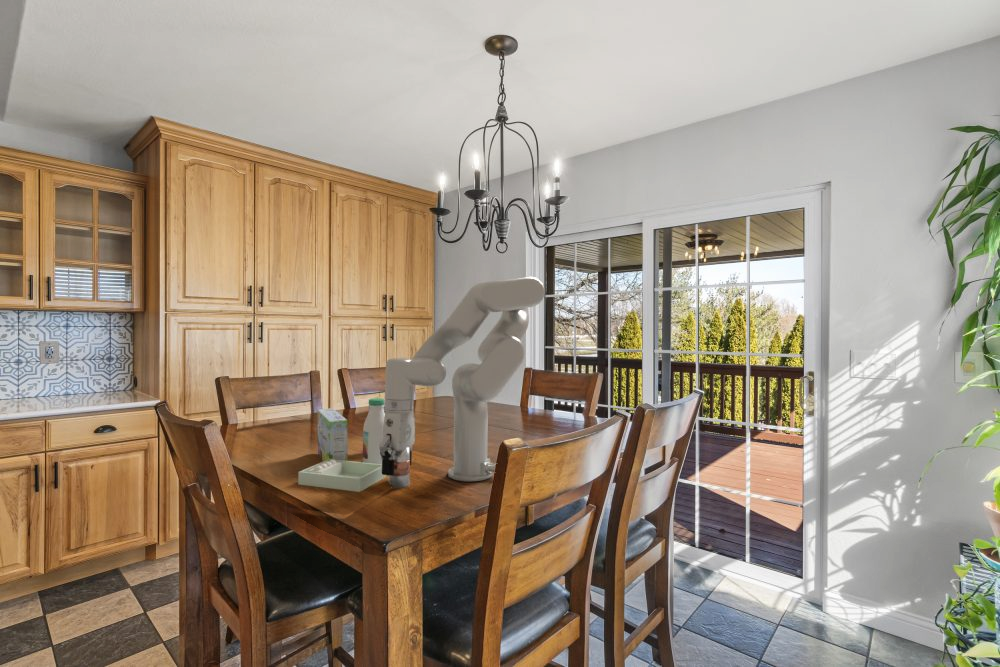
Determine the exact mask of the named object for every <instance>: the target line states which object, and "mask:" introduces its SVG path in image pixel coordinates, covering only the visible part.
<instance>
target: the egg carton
mask: <svg viewBox="0 0 1000 667" xmlns="http://www.w3.org/2000/svg"><path fill="white" fill-rule="evenodd" d="M308 472H311V473H320V474H328V475H337V476H339V475H341V474H342V463H341V462H336V461H335V460H330V461H329V462H325V463H323V464H321V465H318V466H316V467H315V468H312V469H310V470H308Z"/></svg>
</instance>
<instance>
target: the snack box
mask: <svg viewBox="0 0 1000 667" xmlns="http://www.w3.org/2000/svg"><path fill="white" fill-rule="evenodd" d="M316 413H317V417H316V418H317V422H316V423H317V455H318V456H319V458H320V459H321V460H322V462H323V461H326V460H328V459H334V460H344V461H349V456H348V452H349V450H348V419H347V418H345V417H344V416H343V415H342V414H340V413H339V412H338V411H337V410H335V409H334V408H330V407H329V408H322V409H321V408H320V409H319V408H318V409H317V411H316Z"/></svg>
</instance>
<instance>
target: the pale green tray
mask: <svg viewBox="0 0 1000 667" xmlns="http://www.w3.org/2000/svg"><path fill="white" fill-rule="evenodd" d="M330 460H334V459H328V460H326V461H323V460H322V461H321V462H319V463H316V464H314V465H312V466H309V467H307V468H305V469H302V470H300V471H298V475H297V476H298V479H297V480H298V482H297V483H298V485H301V486H309V487H315V488H324V489H333V490H341V491H350V492H356V493H357V492H358V493H360V492H362V491H364V490H366V489H367V488H369V487H371V486H373V485H374V484H376V483H378V482H380V481H381V480H383V479H385V478H386V477H387V475H383V474H382V464H373V463H363V461H362V462H361V461H351V460H348V461H344V460H335V461H336V462H341V463H342V474H341V475H339V476H337V475H328V474H320V473H311V472H308V470H310V469H312V468H315V467H316V466H318V465H321V464H323V463H325V462H329V461H330Z"/></svg>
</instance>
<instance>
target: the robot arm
mask: <svg viewBox="0 0 1000 667" xmlns="http://www.w3.org/2000/svg"><path fill="white" fill-rule="evenodd" d="M544 297H545V286H544V284H543V282H542V281H541V280H540V279H538V278H537V277H534V276H526V277H520V278H519V277H517V278H511V279H503V280H502V279H500V280H492V281H491V280H490V281H485V282H478V283H475V284H474V285H473V286H472V287H471V288H469V290H468V291H467V292H466V294H465V296H463V298H462V299H461V300H460V302H459V303H458V305H457V306H456V307H455V309H454V310H453V311H452V313H451V314H450V315H449V316H448V318H447V320H445V322H444V323H443V324H441V325H440V326H439V327H438V328H437V329H436V330H435V331H434V332H433V333H432V334H431V335H430V336H429V337H428V338H427V339H426V340H425V341H424V342H423V343H422V345H421V346H420V348H419V349H418V350H417V352H416V353H415V354H414V355H413V357H412V358H408V357H407V358H406V357H405V358H404V357H392V358H389V359H388V360H386V364H385V383H384V384H385V385H384V387H385V388H384V401H385V403H384V404H385V408H384V411H386V412H385V417H384V424H383V437H382V442H381V443H380V445H379V448H380V455H381V459H382V474H383V475H386V476H388V477H389V476H392V475H394V460H393V457H394V454H395V452H396V450H397V451H402V450H404V449H406V448H408V447H410V466H412V457H413V456H412V451H413V448H414V447H413V445H414V444H415V442H416V441H415V440H416V438H415V437H416V436H415V434H416V433H415V432H416V429H415V428H416V427H415V426H416V423H415V413H414V406H415V405H414V403H415V402H414V398H415V386H422V387H432V388H433V387H436V386H439V385H440V384H441V383H443V382H444V380H445V379H446V377H447V369H446V367H445V365H444V364H443V363H442V361H443V360H444V359H445V357H447V355H449V354H450V353H451V352H452V351H453V350H455V349H457V348H458V347H461V346H463V345H464V344H466V343H468V342H469V341H470V340H471V339H472V338H473V337H474V335H475V334H476V332H477V331H478V330H479V328H480V327H481V325H482V324H483V323H484V321H485V320H486V319H487V318H488V316H489V315H490V314H491V313H499V312H501V316H500V318H499V320H498V321H497V322H496V324H495V325H494V326H493V328H492V329H491V330H490V331H489V332H488V334H487V335H486V336H485V337H484V339H483V340H482V342H481V343H480V344H479V346H478V349H477V356H478V358H479V360H480V362H481V363H480V364H478V363H470V362H467V363H464V364H462V365H460V366H458V368H457V369H456V370H455V371H454V372H453V375H452V380H451V388H452V396H453V397H452V398H453V408H454V409H453V410H454V411H453V417H454V418H453V467H451V468H449V469H448V471H447V476H448V478H450V479H453V480H455V481H458V482H459V481H460V482H479V481H480V482H481V481H486V480H488V479H490V478H491V477H493V473H495V472H494V470H495V465H496V464H497V463H492V462H491V458H490V457H488V429H489V428H488V427H489V425H488V420H489V410H488V409H489V408H488V402H490V401H492V400H495V398H497V397H498V396H499V395H500V394H501V392H502V391H503V390H504V389H505V387H506V386H507V385H508V383H509V382H510V380H512V378H513V377H514V375H515V374H516V373H517V371H518V370H519V369H520V367H521V365H522V363H523V361H524V357H525V348H524V345H523V343H522V341H521V339H522V338H523V337H524V335H525V334H526V331H527V330H528V328H529V323H530V320H529V318H530V317H529V309H528V308H533V307H535V306H538V305H539V304H540V303H541V302H542V301H543V300H544ZM392 447H393V448H392ZM388 451H391V453H390V454H389V452H388Z"/></svg>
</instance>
